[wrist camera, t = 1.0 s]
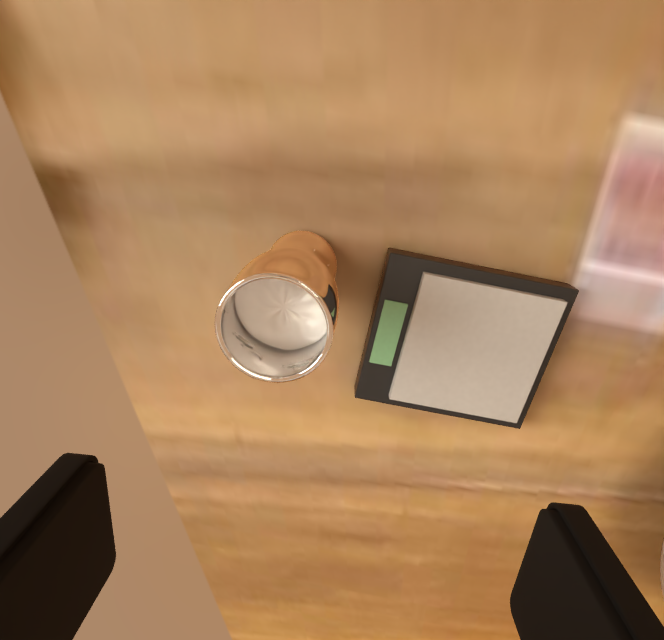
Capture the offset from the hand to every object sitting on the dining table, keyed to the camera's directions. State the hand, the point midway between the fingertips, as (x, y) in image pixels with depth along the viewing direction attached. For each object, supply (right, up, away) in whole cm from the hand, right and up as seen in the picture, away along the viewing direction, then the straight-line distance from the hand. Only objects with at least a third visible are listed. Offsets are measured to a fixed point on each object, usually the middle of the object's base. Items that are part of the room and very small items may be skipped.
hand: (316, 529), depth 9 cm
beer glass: (-2, +9, +28) cm, 30 cm away
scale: (+12, +3, +30) cm, 32 cm away
